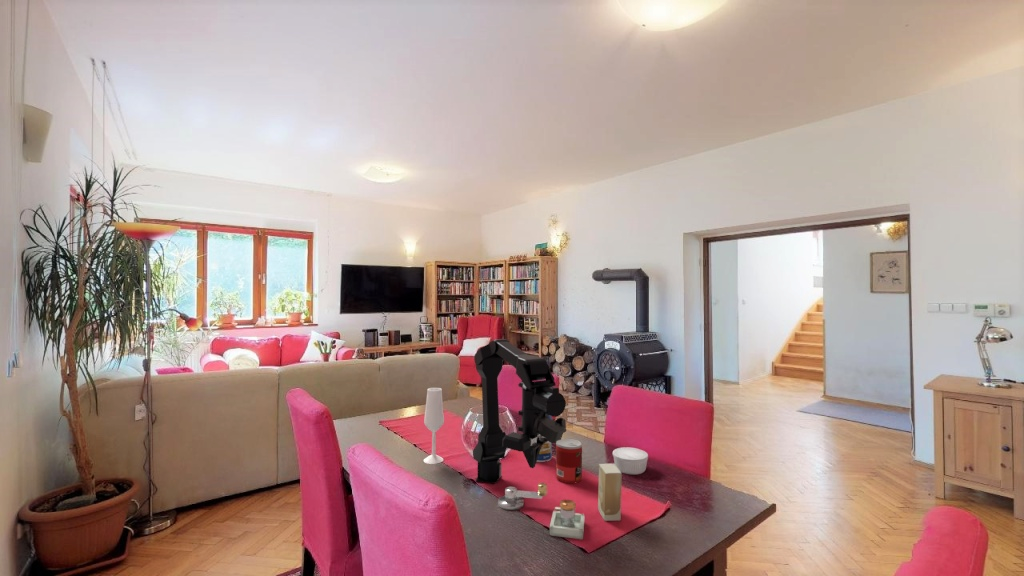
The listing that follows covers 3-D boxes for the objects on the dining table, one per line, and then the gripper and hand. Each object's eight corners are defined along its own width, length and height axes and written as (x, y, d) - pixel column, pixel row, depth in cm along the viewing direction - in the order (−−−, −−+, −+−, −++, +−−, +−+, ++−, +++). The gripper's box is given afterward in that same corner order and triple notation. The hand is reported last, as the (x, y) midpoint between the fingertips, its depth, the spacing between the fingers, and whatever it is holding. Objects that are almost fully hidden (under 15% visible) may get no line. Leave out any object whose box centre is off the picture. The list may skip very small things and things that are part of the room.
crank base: (495, 508, 116) (495, 505, 116) (501, 496, 122) (501, 493, 122) (521, 511, 114) (521, 508, 114) (525, 499, 121) (525, 496, 121)
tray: (549, 535, 103) (549, 526, 103) (553, 518, 111) (553, 510, 111) (582, 539, 101) (583, 530, 102) (584, 522, 109) (584, 514, 109)
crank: (504, 503, 117) (504, 484, 117) (506, 497, 120) (506, 479, 120) (546, 506, 115) (546, 487, 115) (547, 501, 118) (547, 482, 118)
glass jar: (558, 529, 105) (559, 506, 105) (560, 521, 108) (560, 498, 108) (574, 531, 104) (575, 507, 104) (575, 522, 108) (576, 500, 108)
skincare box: (597, 509, 116) (598, 462, 116) (613, 508, 116) (613, 462, 116) (604, 521, 109) (605, 472, 110) (621, 521, 110) (622, 472, 110)
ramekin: (609, 472, 140) (610, 456, 140) (615, 460, 150) (615, 445, 150) (646, 478, 135) (646, 461, 135) (649, 465, 146) (649, 449, 146)
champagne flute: (447, 461, 147) (448, 389, 148) (428, 465, 144) (429, 392, 144) (438, 454, 153) (439, 386, 153) (420, 459, 149) (421, 388, 149)
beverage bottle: (556, 457, 152) (557, 399, 152) (544, 465, 145) (545, 404, 145) (535, 452, 157) (535, 396, 157) (523, 459, 150) (523, 401, 150)
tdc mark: (554, 509, 115) (554, 508, 115) (555, 507, 116) (555, 506, 116) (566, 511, 115) (566, 509, 115) (566, 509, 116) (566, 508, 116)
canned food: (581, 485, 130) (581, 448, 130) (554, 482, 132) (554, 445, 132) (582, 474, 138) (582, 439, 138) (557, 472, 139) (557, 437, 140)
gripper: (540, 421, 101) (539, 488, 101) (577, 404, 116) (577, 463, 116) (501, 412, 107) (500, 476, 107) (542, 398, 123) (541, 454, 122)
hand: (532, 467), depth 113 cm, fingers closed
